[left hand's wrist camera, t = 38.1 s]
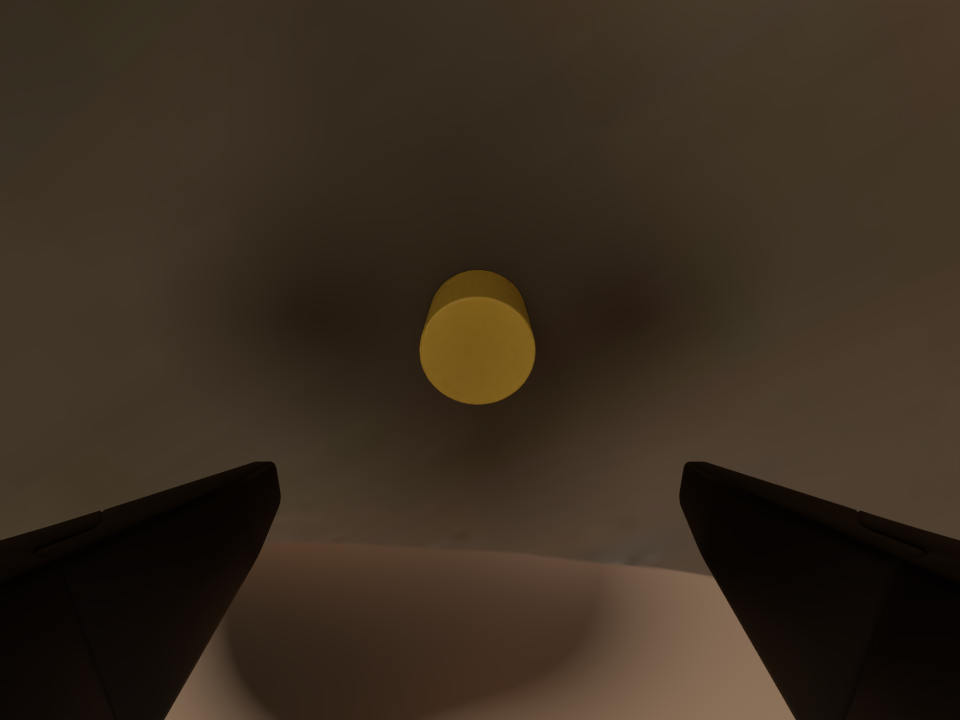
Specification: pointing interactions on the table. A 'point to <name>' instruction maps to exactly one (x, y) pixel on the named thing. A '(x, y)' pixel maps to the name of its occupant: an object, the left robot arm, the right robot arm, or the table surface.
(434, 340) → the yellow short cylinder
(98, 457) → the table surface
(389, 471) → the table surface
